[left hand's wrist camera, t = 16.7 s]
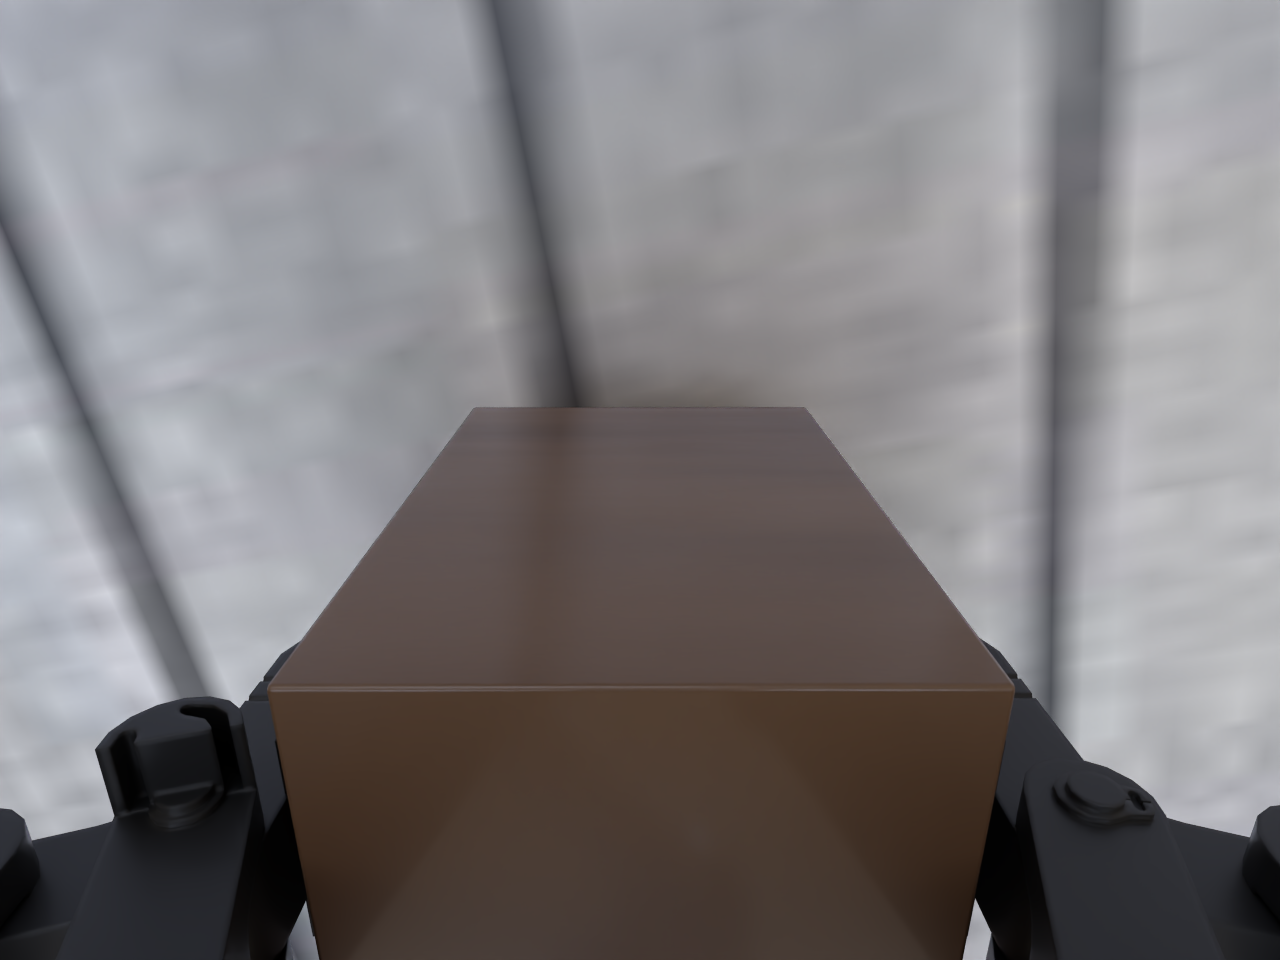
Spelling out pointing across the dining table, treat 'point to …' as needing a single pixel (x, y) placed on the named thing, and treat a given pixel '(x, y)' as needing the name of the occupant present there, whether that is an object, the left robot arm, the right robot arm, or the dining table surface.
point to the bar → (640, 707)
